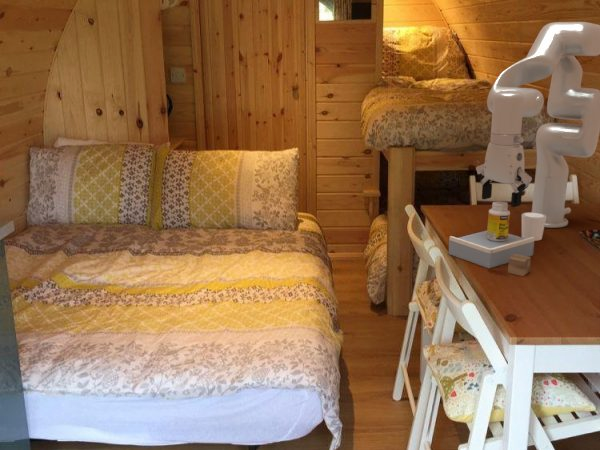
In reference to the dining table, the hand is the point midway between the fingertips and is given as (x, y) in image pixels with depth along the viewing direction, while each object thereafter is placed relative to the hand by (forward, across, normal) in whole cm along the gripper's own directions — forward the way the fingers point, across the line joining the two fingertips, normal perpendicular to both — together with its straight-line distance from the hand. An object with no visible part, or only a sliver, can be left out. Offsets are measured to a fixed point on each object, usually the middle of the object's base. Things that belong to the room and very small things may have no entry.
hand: (500, 202), depth 173 cm
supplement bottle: (+10, 0, +1) cm, 11 cm away
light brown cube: (+14, -13, +8) cm, 21 cm away
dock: (+14, 0, +3) cm, 15 cm away
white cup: (+15, +3, -19) cm, 24 cm away
